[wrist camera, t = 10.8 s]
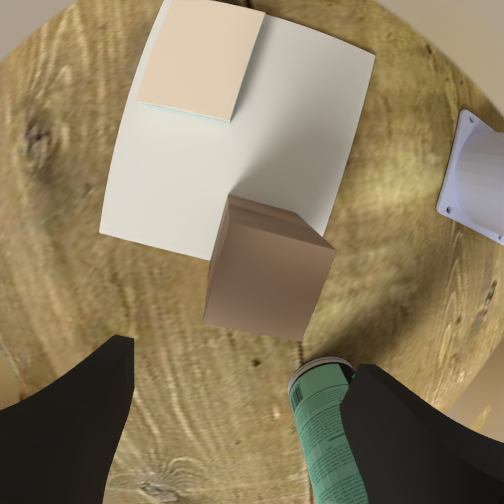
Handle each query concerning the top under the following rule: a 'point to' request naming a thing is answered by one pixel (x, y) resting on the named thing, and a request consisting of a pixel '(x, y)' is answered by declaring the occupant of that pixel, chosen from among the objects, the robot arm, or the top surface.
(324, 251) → the walnut block
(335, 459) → the spray can
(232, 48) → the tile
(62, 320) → the top surface
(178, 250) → the mat
